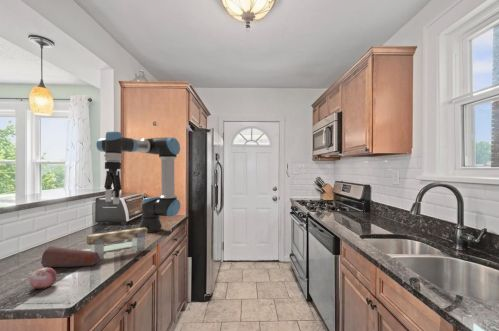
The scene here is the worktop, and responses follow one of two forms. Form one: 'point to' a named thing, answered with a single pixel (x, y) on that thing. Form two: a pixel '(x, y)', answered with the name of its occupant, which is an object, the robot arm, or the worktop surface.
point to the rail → (116, 235)
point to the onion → (43, 278)
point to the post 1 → (98, 247)
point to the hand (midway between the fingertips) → (112, 202)
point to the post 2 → (139, 242)
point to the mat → (115, 247)
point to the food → (68, 257)
